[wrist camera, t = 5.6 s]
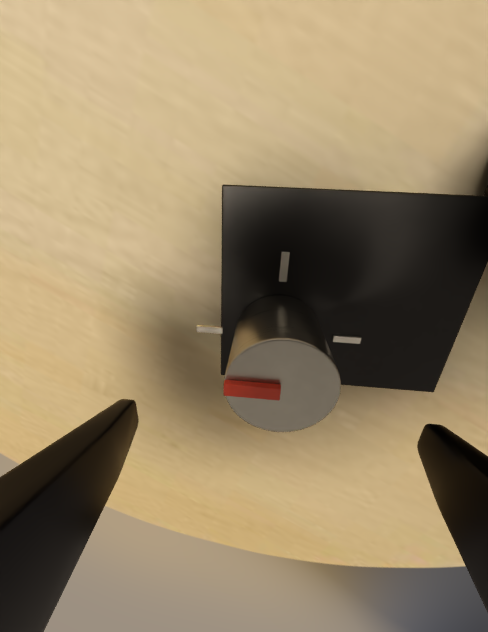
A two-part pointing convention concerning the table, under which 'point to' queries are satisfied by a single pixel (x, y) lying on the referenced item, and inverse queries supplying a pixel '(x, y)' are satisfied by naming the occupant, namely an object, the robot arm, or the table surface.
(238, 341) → the hob knob
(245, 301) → the panel
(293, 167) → the table surface
